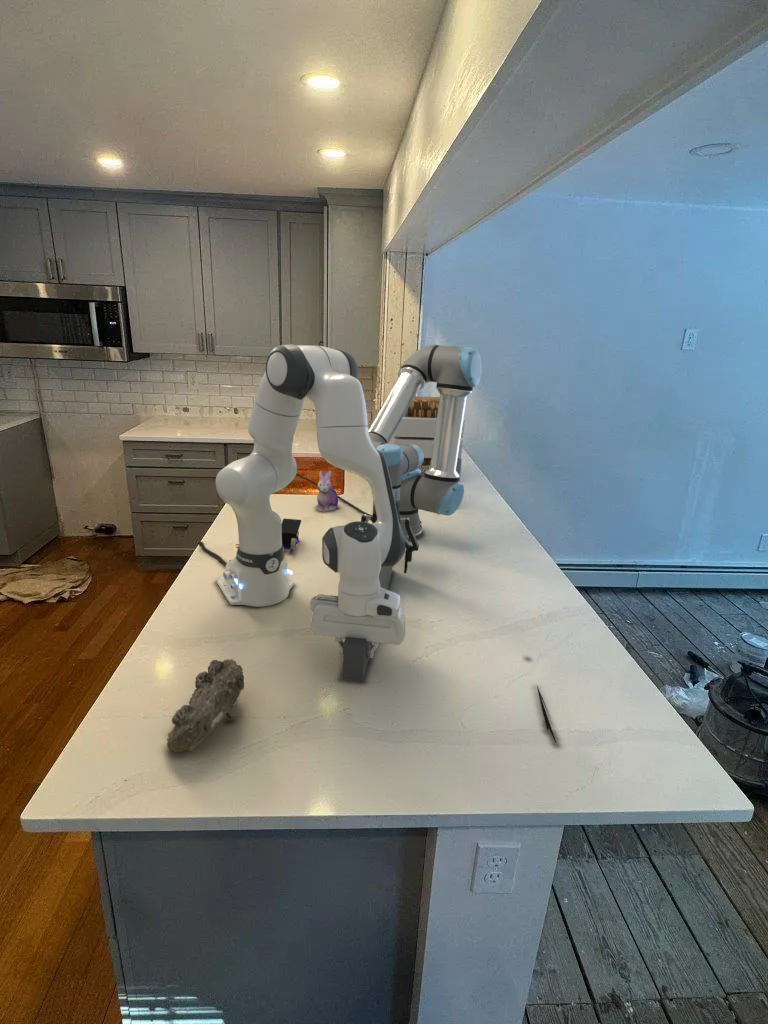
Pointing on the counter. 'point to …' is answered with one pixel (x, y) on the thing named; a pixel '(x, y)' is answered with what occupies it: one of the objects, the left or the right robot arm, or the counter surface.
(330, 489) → the figurine
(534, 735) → the counter surface
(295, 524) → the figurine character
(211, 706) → the fossil
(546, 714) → the feather
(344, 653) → the bar
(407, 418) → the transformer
